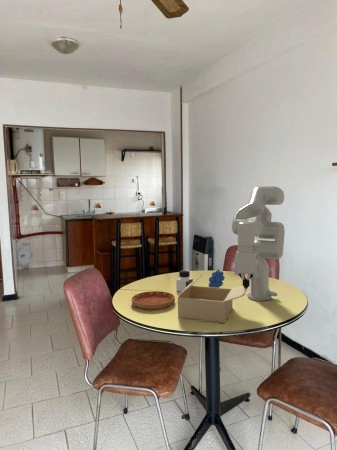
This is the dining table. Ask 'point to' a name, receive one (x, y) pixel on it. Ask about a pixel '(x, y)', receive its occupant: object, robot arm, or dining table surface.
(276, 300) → the dining table surface
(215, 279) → the grapes
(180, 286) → the medicine bottle
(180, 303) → the carton
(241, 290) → the near flap
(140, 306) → the saucer
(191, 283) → the far flap
